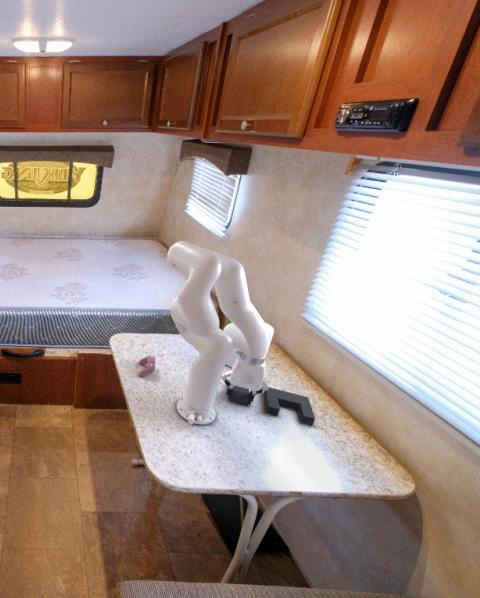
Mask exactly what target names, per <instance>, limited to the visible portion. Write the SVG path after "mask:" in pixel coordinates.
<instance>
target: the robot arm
mask: <svg viewBox="0 0 480 598" xmlns="http://www.w3.org/2000/svg"><path fill="white" fill-rule="evenodd" d="M166 258H167V259H166V260H167V263H168V265H169V266H170V268H172V269H173V270H175V271H177V272H179V273H180V274H182V275H184V276H185V277H187V280H186V281H185V283H184V284H183V286H182V287H181V288H180V290H179V291H178V294H177V296H175V298H174V299H173V300H172V302H171V304H170V310H169V311H170V316H171V319H172V321H173V323H174V325H175V327H176V329H177V331H178V332H179V334H180V336H181V338H182V339H183V340H184V341H186V343H188V344H189V345H190V346H191V347H192V348H193V349H195V351H197V352H198V354H199V356H198V357H196V358H195V359H194V360H193V361H192V362H191V365H190V369H189V374H188V378H187V382H186V386H185V390H184V394H183V397H181V398H180V399H179V400H177V403H176V410H177V412H178V414H179V415H180V416H181V417H182V418H183V419H184V420H186V421H187V423H188V424H189V425H194V424H196V425H209V424H211V423H213V422H214V421H215V419H216V415H217V414H216V410H215V408H214V404H215V401H216V397H217V393H218V390H219V386H220V384H221V383H220V382H221V380H222V381H223V382H224V384H225V386H226V387H227V390H226V396H227V399H228V400H230V398H231V394H232V392H233V387H234V386H238V387H242V388H246V389H249V396H250V401H249V404H248V406H249V405H251V404H252V403H253V402H254V400H255V397H257V396H258V395H260V394H262V393H264V391H266V390H268V387H269V385H268V384H267V382H266V381H265V379H264V378H265V374H266V367H267V366H266V363H265V360H266V358H267V354H268V352H269V348H270V345H271V342H272V339H273V336H274V333H275V330H274V327H273V326H272V325H270V324H269V323H267V322H264V319H263V318H262V316H261V315H260V314H259V312H258V310H257V309H256V307H255V306H254V305H253V304H252V302H251V299H250V294H249V289H248V283H247V277H246V273H245V269H244V266H243V265H242V263H241V262H239V261H237V260H236V259H234V258H231V257H230V256H227V255H225V254H222V253H219V252H218V251H214V250H212V249H208V248H206V247H203V246H200V245H198V244H195V243H192V242H191V241H187V240H180V241H177V242H175V243H173V244H172V245H171V246H170V247H169V249H168V251H167V255H166ZM213 287H214V290H215V294H216V297H217V302H218V306H219V309H220V310H221V312H222V313H223V315H224V316H225V317H226V318H227V319H228V320H229V321H230V322H231V323H228V324H227V325H225V327H224V328H223V330H222V329H221V328H220V318H219V315H218V313H217V310H216V308H215V305H214V303H213V300H212V298H211V291H212V289H213ZM233 347H236V348H237V349H239V350H237V351H236V354H238V356H237V358H236V360H235V362H234V364H233V366H232V367H231V369H230V370H229V371H227V372H225V373H223V372H224V369H225V367H226V362H227V360H228V358H229V357H230V355H231V353H232V351H233Z"/></svg>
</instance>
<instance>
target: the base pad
mask: <svg viewBox="0 0 480 598" xmlns="http://www.w3.org/2000/svg"><path fill="white" fill-rule="evenodd" d="M263 398H264V399H263V400H264V407H265V412H266V414H268V415H271V416H274V417H275V416H276V417H278V415H279V413H280V410H281V408H280V407H284V408H286V409H290V410H294V411H297V414H298V417H299V421H300V423H301V424H304V425H308V426H311V427H312V426H313V425H314V423H315V421H316V417H315V413H314V410H313V407H312V405H311V402H310V398H309V397H308V396H305V395H302V394H297V393H293V392H289V391H286V390H281V389H279V388H274V387H270V386H268V390H266V391H264V392H263Z"/></svg>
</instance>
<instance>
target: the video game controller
mask: <svg viewBox="0 0 480 598" xmlns="http://www.w3.org/2000/svg"><path fill="white" fill-rule="evenodd" d="M156 360H157V359H156V357H155V356H154V355H151V354H150V355H146V356H145V357H142V358H141V359H140V360H139V361H138V363H139V364H140V365H145V368H144V369H142V370H141V371H139V373H138V375H139V377H147V376H149V375H151V374H153V373H154V372H156V367H157V366H156V362H157V361H156Z"/></svg>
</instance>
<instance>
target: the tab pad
mask: <svg viewBox="0 0 480 598" xmlns="http://www.w3.org/2000/svg"><path fill="white" fill-rule="evenodd" d="M249 393H250V389H246V388H242V387H238V386H234V387H233V392H232V394H231V398H230V399H229V402H231V403H234V404H238V405H242V406H246V407H249V401H250V396H249Z"/></svg>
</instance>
